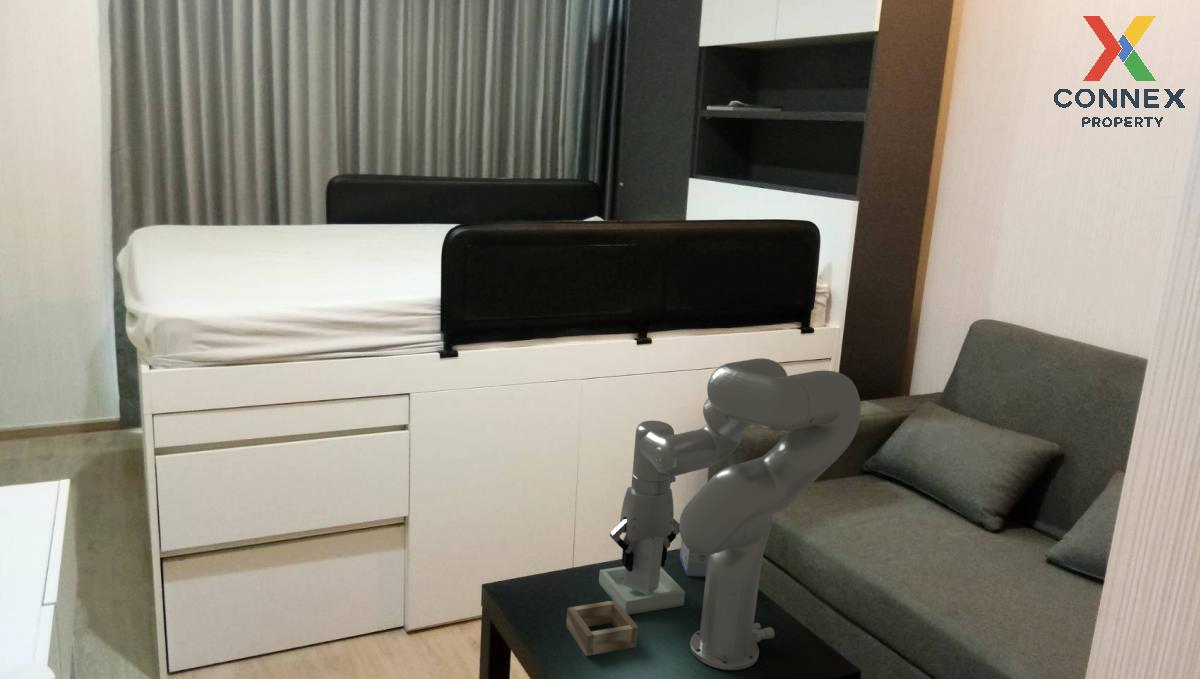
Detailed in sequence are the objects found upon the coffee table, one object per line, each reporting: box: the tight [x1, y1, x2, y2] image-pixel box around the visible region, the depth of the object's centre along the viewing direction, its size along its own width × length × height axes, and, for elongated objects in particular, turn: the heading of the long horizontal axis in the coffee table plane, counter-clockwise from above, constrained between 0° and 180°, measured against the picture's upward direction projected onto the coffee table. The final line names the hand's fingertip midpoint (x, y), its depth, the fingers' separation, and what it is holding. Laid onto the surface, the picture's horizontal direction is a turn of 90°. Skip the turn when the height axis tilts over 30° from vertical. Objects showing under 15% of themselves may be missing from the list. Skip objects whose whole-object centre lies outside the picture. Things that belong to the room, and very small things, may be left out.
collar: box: [565, 600, 639, 657], centre depth 170 cm, size 10×10×4 cm
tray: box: [598, 565, 686, 616], centre depth 186 cm, size 13×13×3 cm
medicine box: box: [679, 540, 709, 577], centre depth 198 cm, size 8×4×9 cm, turn 6°
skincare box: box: [624, 537, 664, 595], centre depth 184 cm, size 6×4×12 cm
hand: (643, 565), depth 185 cm, fingers closed on skincare box, 6 cm apart
